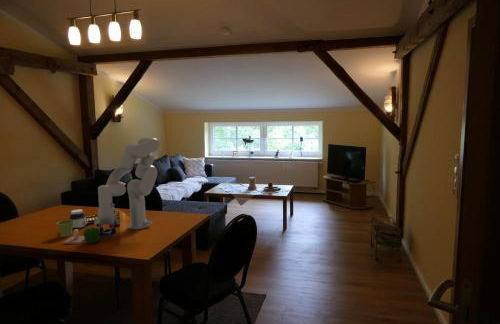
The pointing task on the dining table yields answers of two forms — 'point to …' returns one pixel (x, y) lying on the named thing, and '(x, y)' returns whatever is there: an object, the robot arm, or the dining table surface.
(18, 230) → the dining table surface
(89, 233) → the bell pepper
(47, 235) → the dining table surface
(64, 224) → the plant pot
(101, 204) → the robot arm
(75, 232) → the keeper
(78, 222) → the spread jar
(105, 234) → the dark grey rectangular frame
